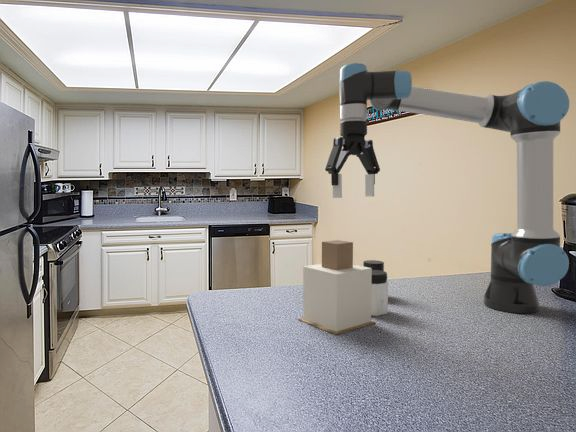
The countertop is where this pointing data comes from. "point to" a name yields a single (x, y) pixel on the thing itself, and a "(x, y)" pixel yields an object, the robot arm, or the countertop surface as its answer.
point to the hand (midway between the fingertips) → (354, 197)
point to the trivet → (335, 331)
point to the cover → (337, 289)
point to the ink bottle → (374, 265)
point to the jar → (379, 293)
